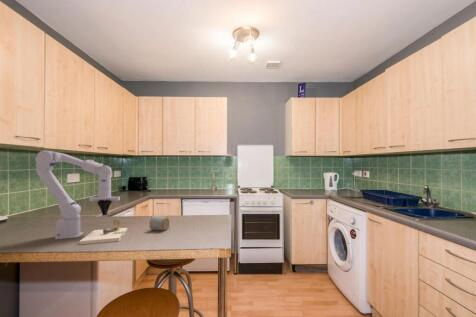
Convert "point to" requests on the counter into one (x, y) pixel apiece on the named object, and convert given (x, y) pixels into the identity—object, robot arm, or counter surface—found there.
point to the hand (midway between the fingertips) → (104, 214)
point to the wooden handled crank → (116, 226)
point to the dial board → (103, 236)
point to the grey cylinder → (159, 223)
